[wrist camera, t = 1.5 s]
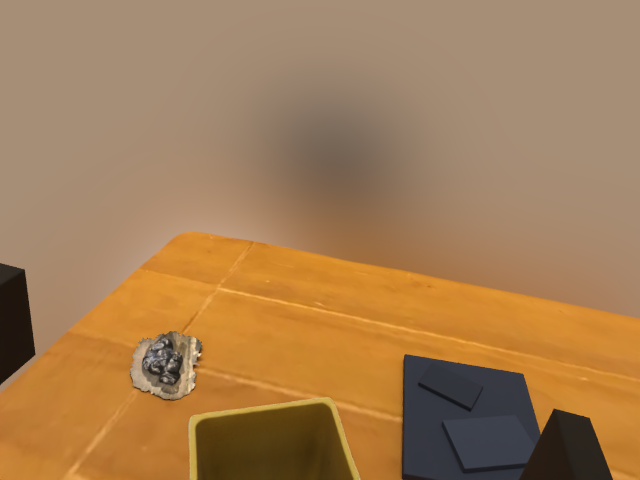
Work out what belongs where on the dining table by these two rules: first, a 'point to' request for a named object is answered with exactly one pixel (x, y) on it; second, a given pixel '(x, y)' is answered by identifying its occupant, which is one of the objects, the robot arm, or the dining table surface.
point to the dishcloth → (465, 422)
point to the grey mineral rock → (166, 365)
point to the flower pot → (271, 443)
